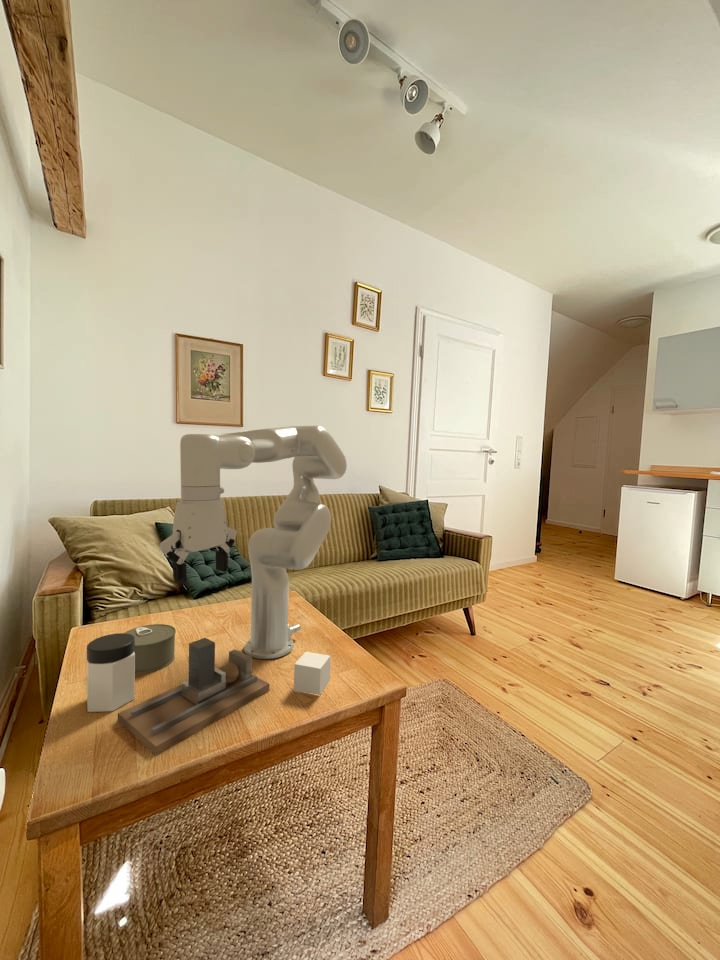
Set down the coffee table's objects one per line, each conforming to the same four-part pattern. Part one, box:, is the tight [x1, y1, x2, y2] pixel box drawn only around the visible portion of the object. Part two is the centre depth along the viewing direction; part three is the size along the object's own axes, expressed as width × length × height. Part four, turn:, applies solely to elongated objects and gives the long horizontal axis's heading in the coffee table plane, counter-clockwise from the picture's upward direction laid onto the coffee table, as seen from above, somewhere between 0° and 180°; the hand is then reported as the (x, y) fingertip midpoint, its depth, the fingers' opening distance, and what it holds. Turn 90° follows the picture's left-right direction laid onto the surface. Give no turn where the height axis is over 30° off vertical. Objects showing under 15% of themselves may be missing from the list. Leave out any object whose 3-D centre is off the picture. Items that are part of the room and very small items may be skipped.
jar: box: [86, 632, 136, 713], centre depth 79 cm, size 9×8×12 cm
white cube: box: [293, 651, 332, 696], centre depth 86 cm, size 6×6×6 cm
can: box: [124, 623, 177, 676], centre depth 94 cm, size 12×12×7 cm
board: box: [117, 649, 270, 756], centre depth 78 cm, size 24×14×6 cm, turn 144°
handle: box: [180, 637, 226, 705], centre depth 79 cm, size 6×6×10 cm
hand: (202, 576), depth 82 cm, fingers open, 9 cm apart
